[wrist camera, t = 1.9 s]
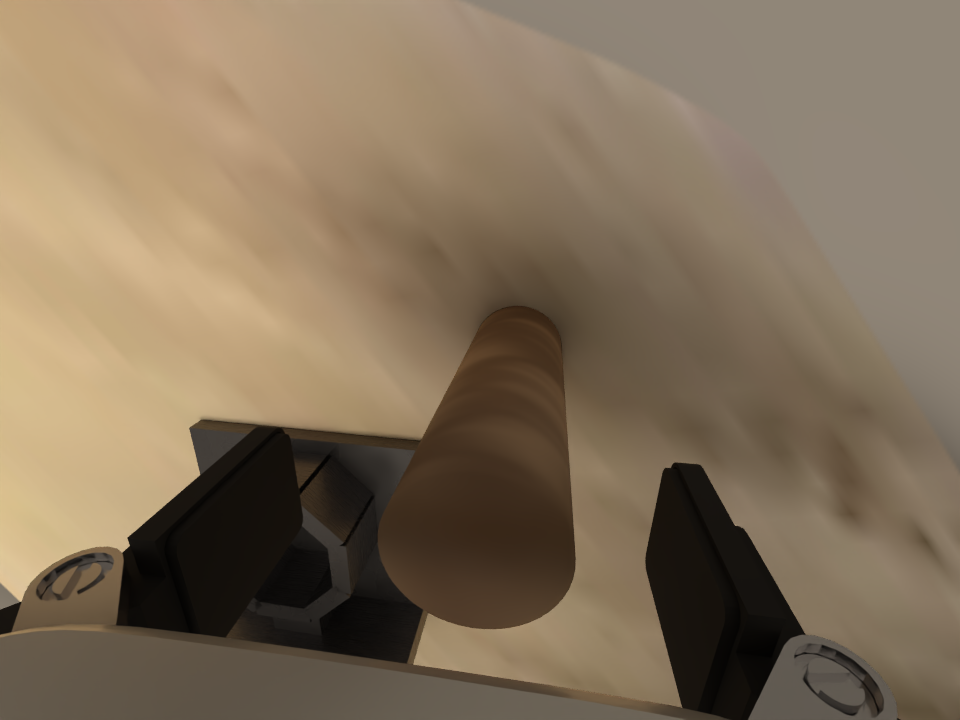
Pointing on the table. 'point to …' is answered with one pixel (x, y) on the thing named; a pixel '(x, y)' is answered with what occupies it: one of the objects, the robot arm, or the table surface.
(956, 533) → the table surface
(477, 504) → the brown wooden cylinder
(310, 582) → the bracket
